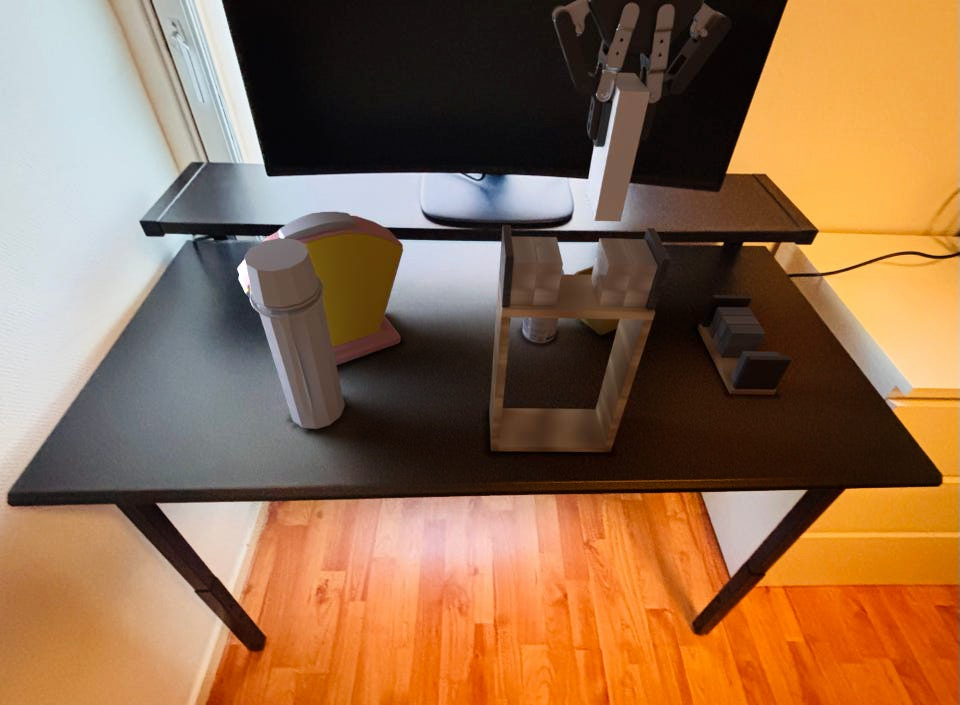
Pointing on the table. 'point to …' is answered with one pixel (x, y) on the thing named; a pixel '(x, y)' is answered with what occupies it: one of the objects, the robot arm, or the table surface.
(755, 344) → the grey rack
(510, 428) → the birch stand
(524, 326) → the energy drink
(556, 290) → the wooden book holder
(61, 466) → the table surface
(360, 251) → the yellow napkin holder
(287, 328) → the water bottle
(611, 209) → the white book
